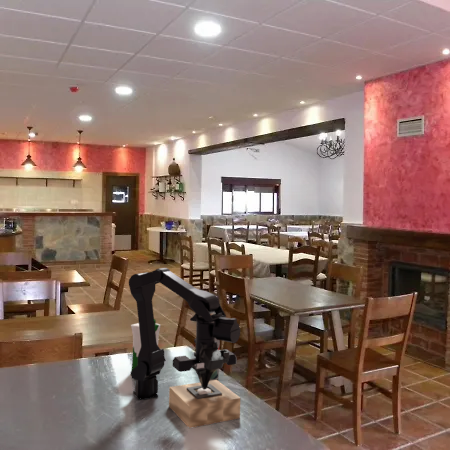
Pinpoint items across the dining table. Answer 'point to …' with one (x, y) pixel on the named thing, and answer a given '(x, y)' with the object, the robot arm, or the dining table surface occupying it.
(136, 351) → the milk carton
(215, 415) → the socket block
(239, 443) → the dining table surface
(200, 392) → the dowel
